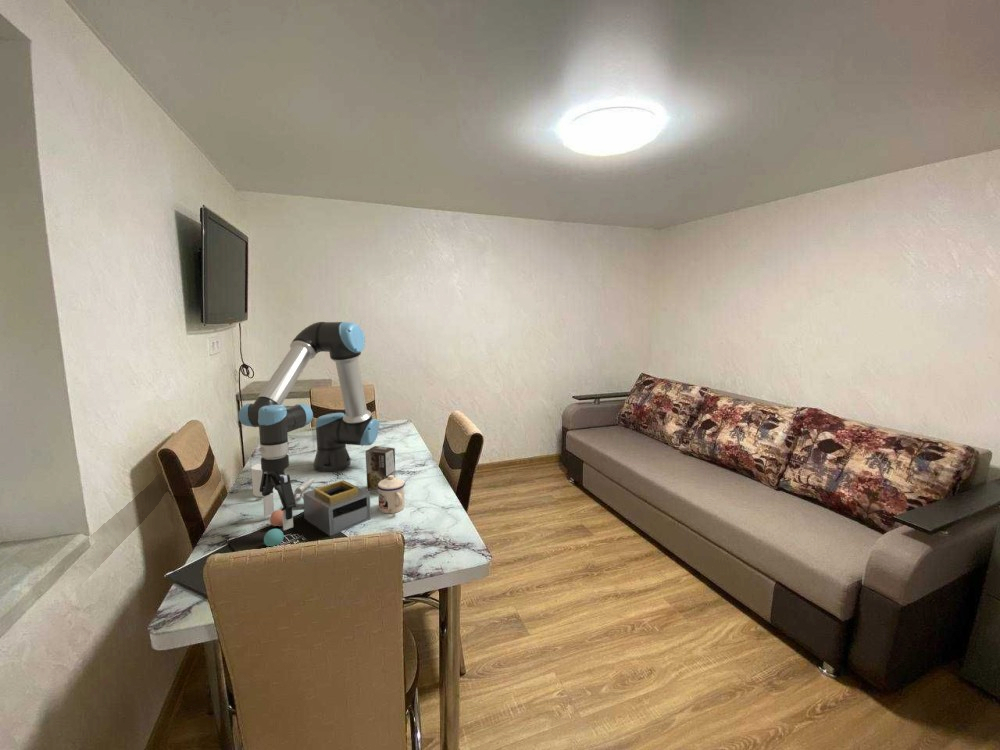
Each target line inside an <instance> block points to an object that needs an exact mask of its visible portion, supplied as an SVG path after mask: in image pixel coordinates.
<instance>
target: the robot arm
mask: <svg viewBox="0 0 1000 750" xmlns="http://www.w3.org/2000/svg"><path fill="white" fill-rule="evenodd" d="M365 337H366V336H365V334H364V331H363V329H362V327H360V325H358V324H357V323H354V322H349V321H318V322H313V323H312V324H310V325H308V326H307V327H305V328H304V329H302V330H301V331H300V332H299V333H298V334H297V335H296V336H295V337H294V338H293V340H292V341H291V342H290V344H289V348H290V349H289V351H288V352H287V354H286V355H285V357H284V358H283V359H282V360H281V363H280V364H279V365H278V367H277V369H275V371H274V373H273V375H272V376H271V377H270V378H269V380H268V381H267V383H266V384H265V386H264V388H263V389H262V390H261V392H259V395H258V396H257V398H256V399H255V401H254V402H252V403H246V404H244V405H242V406H241V407H240V409H239V411H238V412H239V413H238V420H239V422H240V423H241V425H244V426H245V427H252V428H258V430H259V431H258V432H259V433H258V434H259V448H258V451H259V452H260V456H261V458H260V463H261V469H262V479H261V484H260V492H262V495H263V497H262V498H263V499H262V501H263V515H264V517H268V516H271V515H272V513H273V512H275V507H274V506H275V504H274V494H271V493H274V492H273V488H275V490H277V494H278V496H279V499H280V503H281V505H282V508H281V509H280V510H282V519H283V525H282V530H283V531H286V530H289V529H292V528H294V514H293V513H294V512H293V508H296V507H297V503H296V502H295V498H294V492H293V491H294V490H293V488H292V483H291V476H290V474H285V470H286V469H287V468H289V466H290V460H289V459H290V458H289V455H288V454H289V439H288V433H290V432H292V431H295V430H298V429H301V428H304V427H305V426H307V425H310V423H311V422H312V421H313V419H314V413H313V410H312V408H311V407H310V406H309V405H308V404H304V403H301V404H295V405H283V403H284V401H285V399H286V398H287V397H288V395H289V393H290V391H292V389H293V387H294V386H295V383H297V380H298V379H299V377H300V375H301V374H302V372H303V371H304V369H305V368H306V366H307V364H308V363H309V361H310V360H312V359H314V358H315V357H316V355H317V354H319V353H320V352H326V353H327V352H328V353H329V358H330V360H332V361H333V362H335V366H336V371H337V378H338V381H339V386H340V391H341V398H342V401H343V406H344V412H345V413H344V412H332V413H327V414H324V415H321V416H319V417H316V420H315V432H316V433H315V434H316V435H315V436H316V447H317V448H316V450H317V451H316V454H315V457H314V459H313V469H314V470H315V471H317V472H321V473H322V472H323V473H330V472H337V471H341V470H345V469H346V468H349V467H350V466H351V464H352V462H351V457H350V455H349V452H348V450H347V445H352V446H361V447H363V446H371V445H373V444H374V443H375V442H376V440H377V439H378V435H379V430H380V422H379V420H378V419H377V418H373V414H372V412H371V411H370V410H368V408H367V402H366V397H365V390H364V386H363V385H364V384H363V380H362V375H361V368H360V364H359V358H360V356H361V355H362V351H364V349H365V343H366V340H365ZM263 487H264V488H263Z"/></svg>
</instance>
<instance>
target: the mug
mask: <svg viewBox="0 0 1000 750" xmlns="http://www.w3.org/2000/svg"><path fill="white" fill-rule="evenodd" d="M250 469H251V484H252V495H253V496H254V497H262V498H263V495H262V492H260V484H261V479H262V469H261V462H260V463H257V464H254V465H252V466H251V468H250ZM263 488H264V487H263ZM273 492H274V493H271V494H273V495H274V494H277V493H278V491H277V490H275V488H273Z"/></svg>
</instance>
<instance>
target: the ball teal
mask: <svg viewBox="0 0 1000 750" xmlns="http://www.w3.org/2000/svg"><path fill="white" fill-rule="evenodd" d="M284 537H285V536H284V532H283V531H282V530H281V529H279V528H272V529H269V530H268V531H267V532H265V535H264V537H263V543H264V545H266V547H268V548H270V547H269V546H275V545H278V546H280V545H281V544H282V543H283V540H284ZM279 544H280V545H279Z"/></svg>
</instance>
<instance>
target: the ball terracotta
mask: <svg viewBox="0 0 1000 750" xmlns="http://www.w3.org/2000/svg"><path fill="white" fill-rule="evenodd" d="M269 516H270V517H269V523H270V524H271V525H272V527H276V526H279V527H283V519H282V510H281V509H277V510H274V512H273V513H272V515H269Z"/></svg>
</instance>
